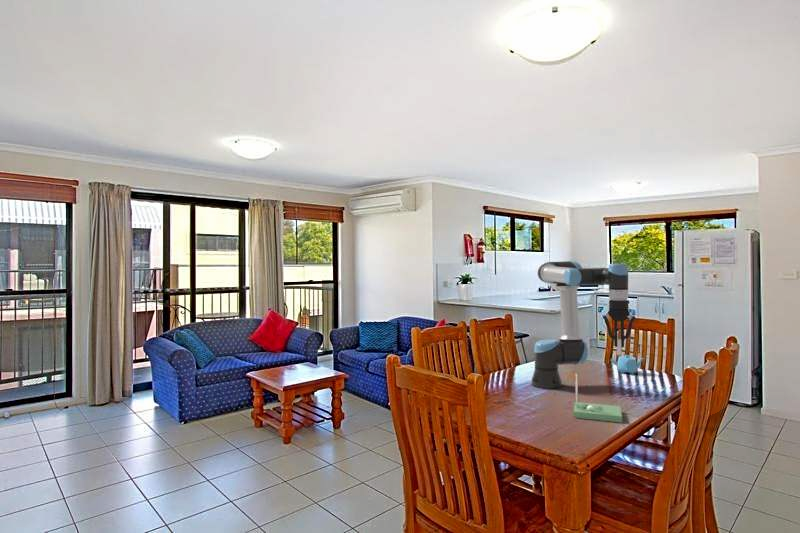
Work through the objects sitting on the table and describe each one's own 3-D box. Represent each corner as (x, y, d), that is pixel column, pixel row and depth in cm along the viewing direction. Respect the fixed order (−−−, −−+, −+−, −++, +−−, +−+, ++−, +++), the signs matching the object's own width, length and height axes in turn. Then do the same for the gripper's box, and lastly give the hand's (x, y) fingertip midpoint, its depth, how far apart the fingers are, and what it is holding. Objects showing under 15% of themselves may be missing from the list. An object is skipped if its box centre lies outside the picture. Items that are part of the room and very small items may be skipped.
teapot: (610, 373, 265) (609, 356, 265) (610, 368, 278) (610, 351, 278) (645, 376, 257) (645, 358, 257) (644, 371, 270) (644, 354, 270)
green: (567, 416, 192) (566, 377, 192) (568, 407, 205) (568, 369, 205) (622, 422, 185) (621, 381, 185) (620, 412, 198) (619, 373, 197)
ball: (585, 407, 195) (593, 405, 193) (585, 405, 198) (593, 403, 197) (588, 415, 194) (597, 413, 193) (588, 413, 197) (597, 411, 196)
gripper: (602, 299, 197) (602, 355, 197) (636, 300, 192) (637, 357, 192) (601, 298, 204) (602, 352, 204) (634, 299, 199) (635, 353, 199)
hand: (619, 354), depth 198 cm, fingers closed
